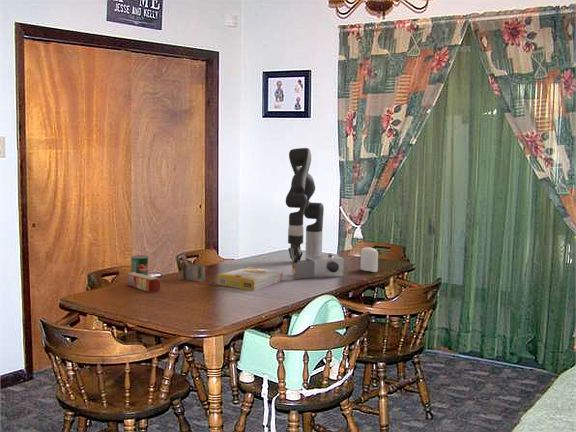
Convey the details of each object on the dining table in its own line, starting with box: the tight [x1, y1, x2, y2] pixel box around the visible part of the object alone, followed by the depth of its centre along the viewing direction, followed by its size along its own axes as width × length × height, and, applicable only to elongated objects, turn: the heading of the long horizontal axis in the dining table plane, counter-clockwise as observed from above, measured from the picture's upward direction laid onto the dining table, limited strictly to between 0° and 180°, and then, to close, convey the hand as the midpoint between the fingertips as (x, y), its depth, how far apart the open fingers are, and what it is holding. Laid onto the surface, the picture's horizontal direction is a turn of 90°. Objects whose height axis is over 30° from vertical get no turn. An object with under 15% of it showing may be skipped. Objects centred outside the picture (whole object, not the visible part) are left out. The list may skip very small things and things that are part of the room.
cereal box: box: [216, 266, 284, 291], centre depth 339 cm, size 20×6×28 cm
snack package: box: [125, 272, 162, 294], centre depth 321 cm, size 21×7×7 cm, turn 41°
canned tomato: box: [130, 254, 149, 276], centre depth 343 cm, size 8×8×11 cm
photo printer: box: [360, 246, 379, 273], centre depth 377 cm, size 10×4×12 cm, turn 39°
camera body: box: [305, 253, 345, 278], centre depth 363 cm, size 14×16×10 cm
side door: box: [291, 261, 315, 280], centre depth 352 cm, size 12×2×8 cm, turn 119°
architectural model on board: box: [181, 259, 206, 282], centre depth 344 cm, size 11×3×10 cm, turn 63°
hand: (294, 268), depth 353 cm, fingers closed
